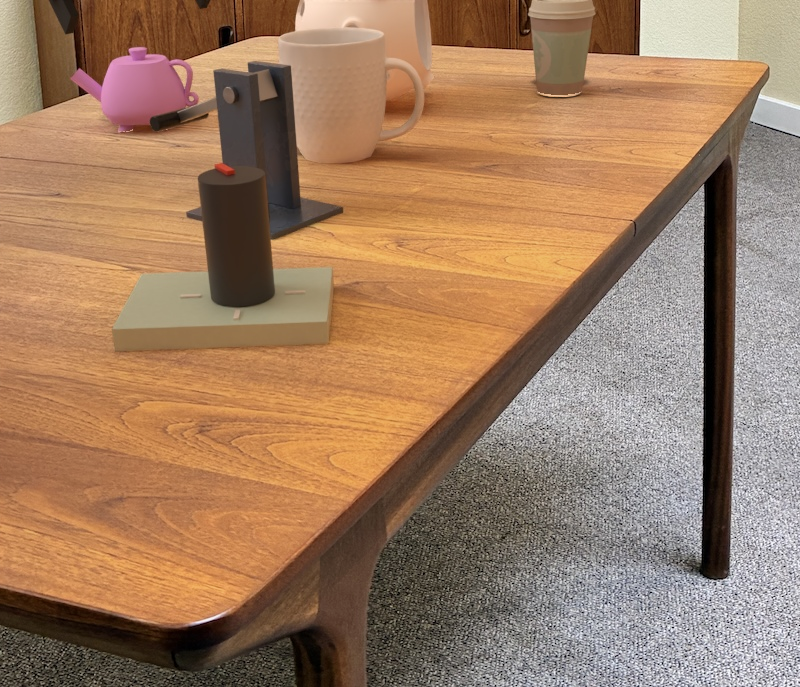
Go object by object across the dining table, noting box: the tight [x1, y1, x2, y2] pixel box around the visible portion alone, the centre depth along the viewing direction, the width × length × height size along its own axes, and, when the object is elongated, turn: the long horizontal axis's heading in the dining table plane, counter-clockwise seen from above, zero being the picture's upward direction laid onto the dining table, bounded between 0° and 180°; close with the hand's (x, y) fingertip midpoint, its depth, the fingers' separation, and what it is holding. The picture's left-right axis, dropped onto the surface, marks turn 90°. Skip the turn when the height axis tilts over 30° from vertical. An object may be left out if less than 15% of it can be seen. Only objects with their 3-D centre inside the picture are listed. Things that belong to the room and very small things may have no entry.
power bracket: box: [185, 60, 344, 241], centre depth 97 cm, size 11×9×14 cm
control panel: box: [111, 266, 335, 352], centre depth 77 cm, size 14×10×3 cm
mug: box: [277, 27, 425, 165], centre depth 116 cm, size 15×11×13 cm
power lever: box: [149, 69, 278, 133], centre depth 99 cm, size 13×6×2 cm, turn 51°
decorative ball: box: [294, 0, 435, 103], centre depth 137 cm, size 20×17×20 cm
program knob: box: [197, 162, 275, 307], centre depth 74 cm, size 4×4×9 cm
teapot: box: [70, 46, 200, 132], centre depth 134 cm, size 10×15×9 cm
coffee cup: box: [527, 0, 596, 95], centre depth 142 cm, size 8×9×12 cm
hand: (142, 12), depth 101 cm, fingers open, 13 cm apart
